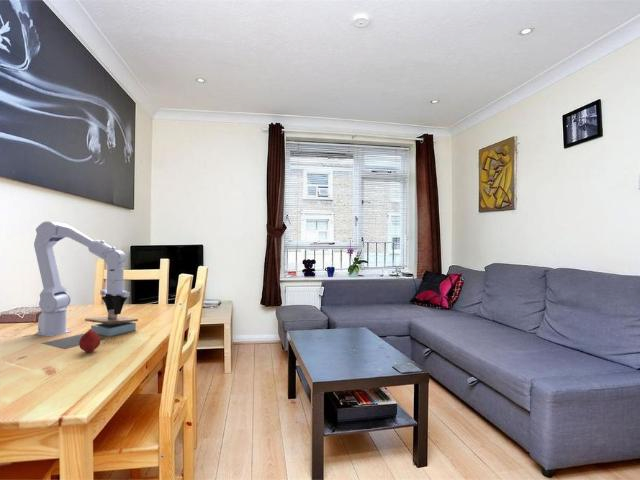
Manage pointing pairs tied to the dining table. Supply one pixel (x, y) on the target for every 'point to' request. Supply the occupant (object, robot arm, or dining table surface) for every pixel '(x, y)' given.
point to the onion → (89, 341)
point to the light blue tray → (113, 328)
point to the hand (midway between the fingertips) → (114, 313)
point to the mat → (66, 342)
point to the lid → (111, 319)
